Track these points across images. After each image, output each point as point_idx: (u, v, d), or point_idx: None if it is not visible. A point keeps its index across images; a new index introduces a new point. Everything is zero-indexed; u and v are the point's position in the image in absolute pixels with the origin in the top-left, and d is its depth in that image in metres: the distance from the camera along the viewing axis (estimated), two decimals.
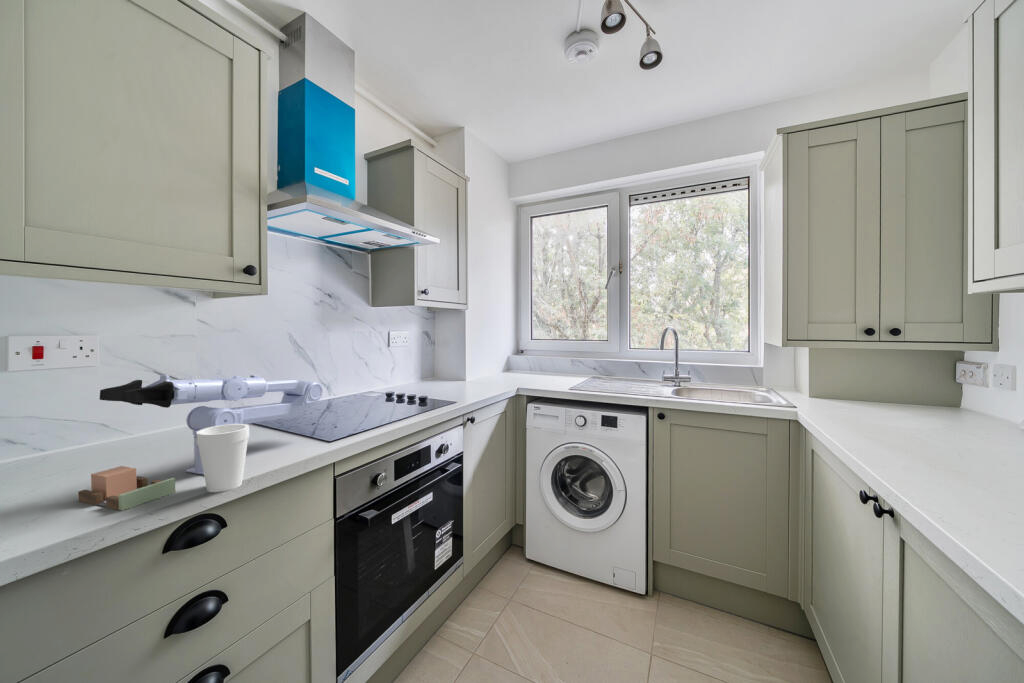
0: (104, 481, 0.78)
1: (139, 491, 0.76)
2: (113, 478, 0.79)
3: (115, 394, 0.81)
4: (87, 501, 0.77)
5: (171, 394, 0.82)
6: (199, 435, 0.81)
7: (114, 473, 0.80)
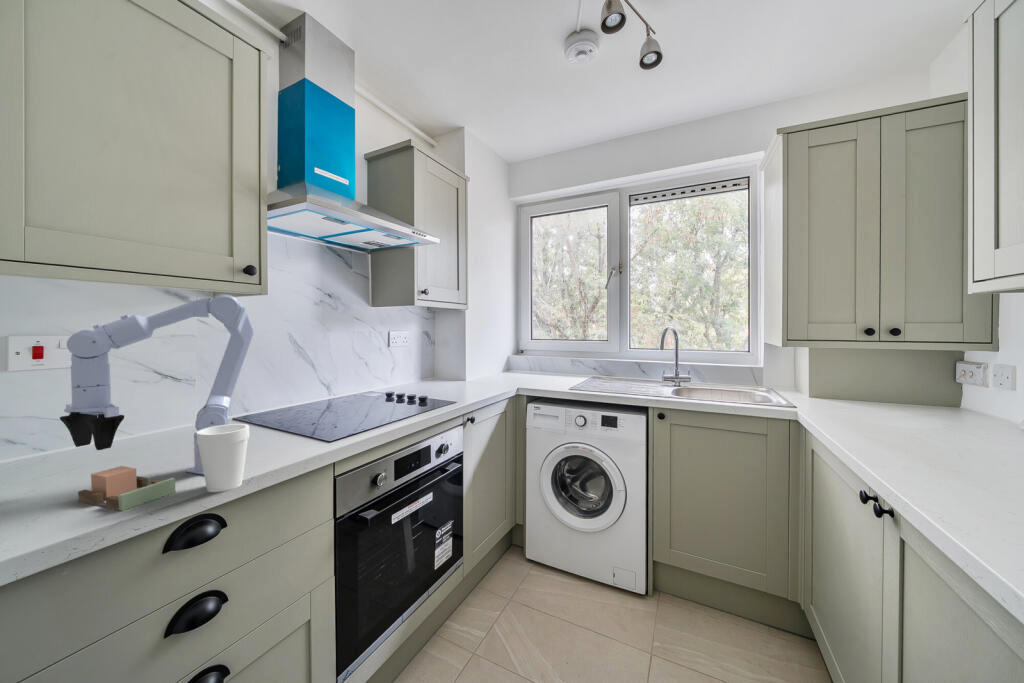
0: (104, 481, 0.78)
1: (139, 491, 0.76)
2: (112, 478, 0.79)
3: (83, 435, 0.84)
4: (87, 501, 0.77)
5: (109, 418, 0.81)
6: (199, 435, 0.81)
7: (114, 473, 0.80)
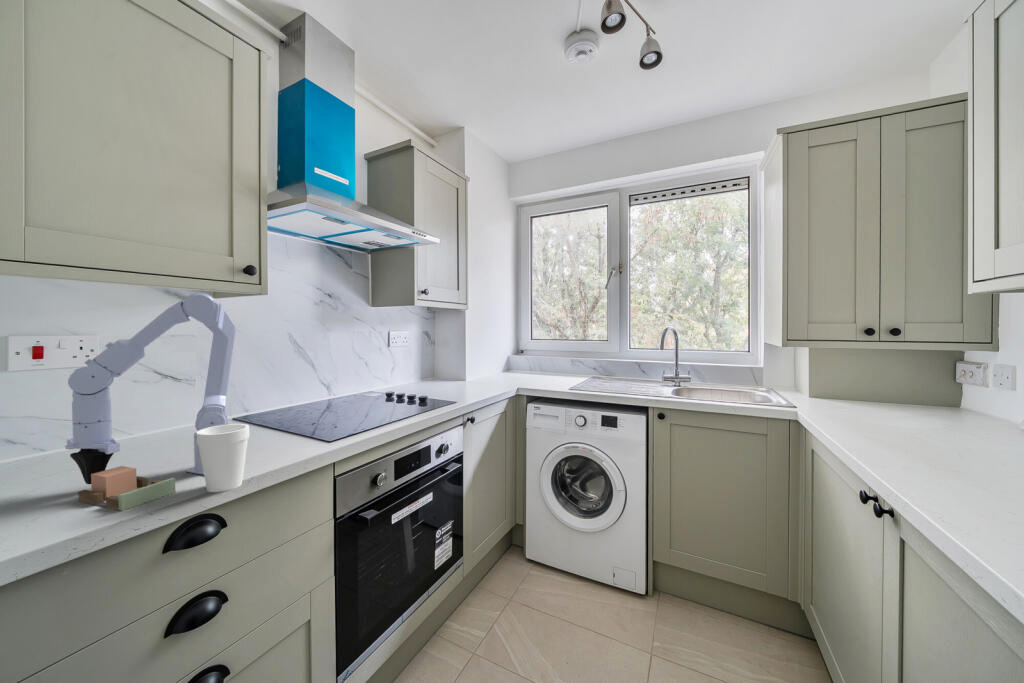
0: (104, 481, 0.78)
1: (139, 491, 0.76)
2: (112, 478, 0.79)
3: None
4: (87, 501, 0.77)
5: (100, 452, 0.82)
6: (199, 435, 0.81)
7: (114, 473, 0.80)
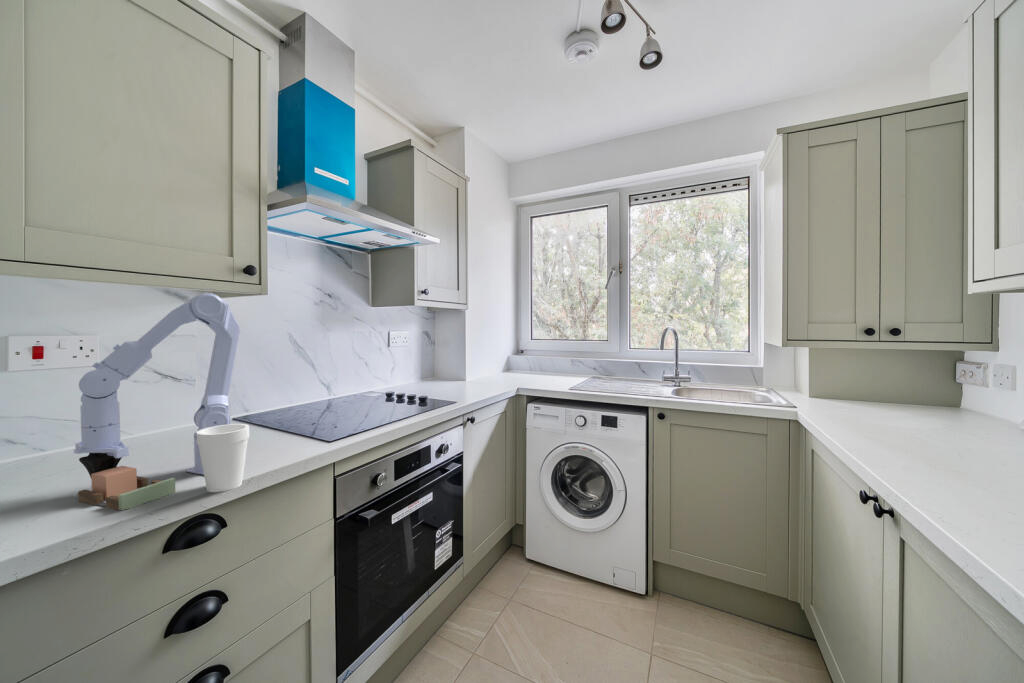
0: (104, 480, 0.78)
1: (139, 491, 0.76)
2: (113, 478, 0.79)
3: None
4: (87, 501, 0.77)
5: (109, 456, 0.82)
6: (199, 435, 0.81)
7: (114, 473, 0.80)
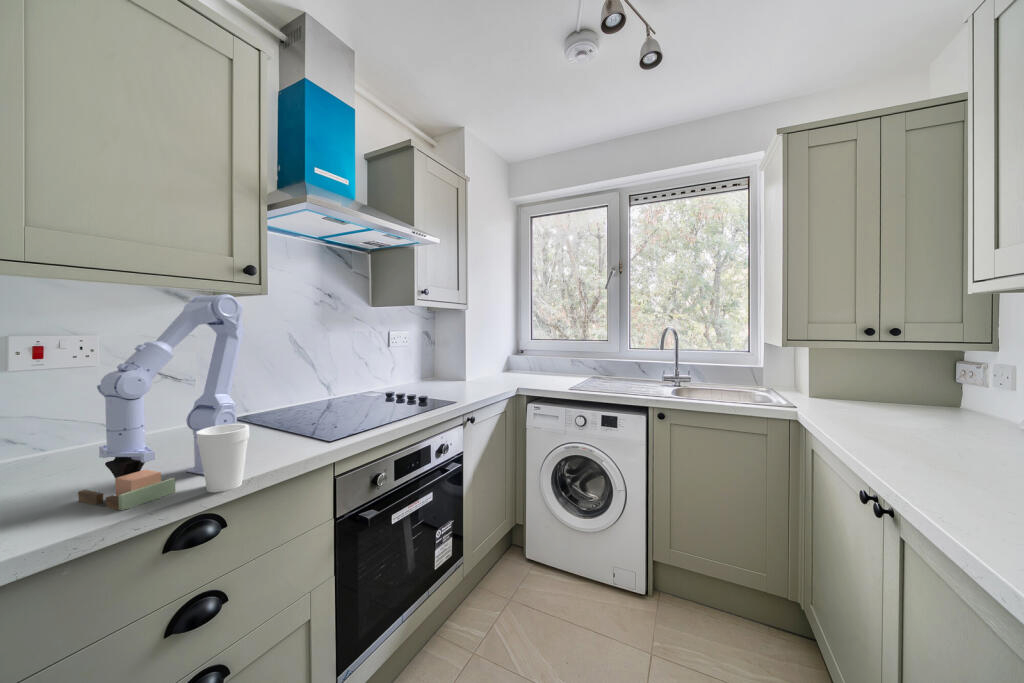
0: (129, 485, 0.76)
1: (139, 491, 0.76)
2: (138, 483, 0.77)
3: None
4: (87, 501, 0.77)
5: (133, 460, 0.79)
6: (199, 435, 0.81)
7: (139, 477, 0.78)
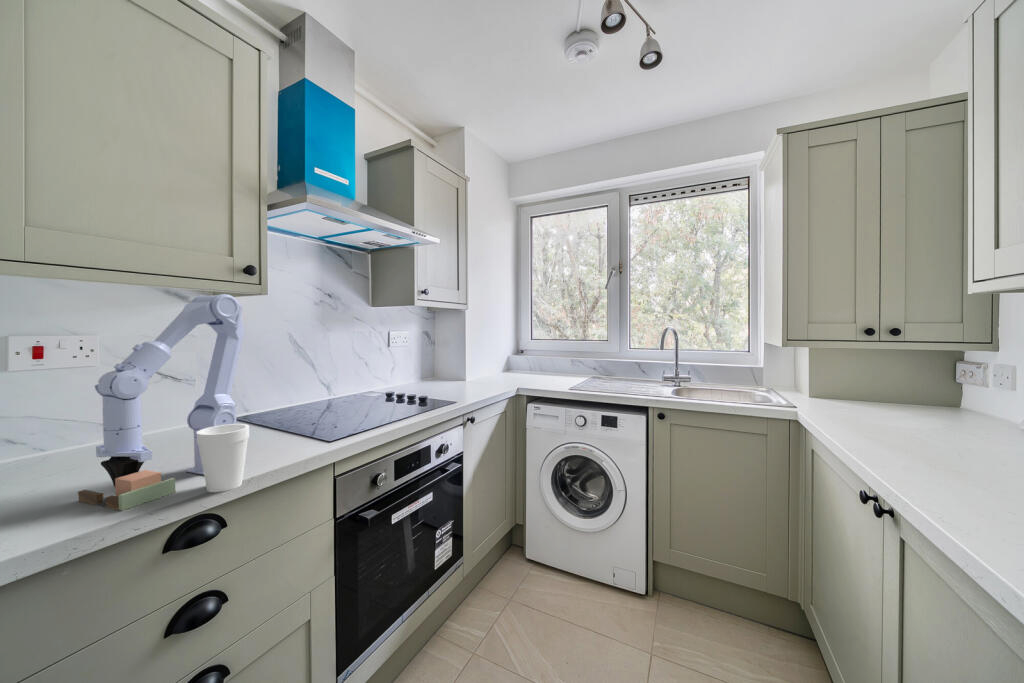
0: (129, 485, 0.76)
1: (139, 491, 0.76)
2: (138, 483, 0.77)
3: None
4: (87, 501, 0.77)
5: (132, 460, 0.79)
6: (199, 435, 0.81)
7: (139, 477, 0.78)
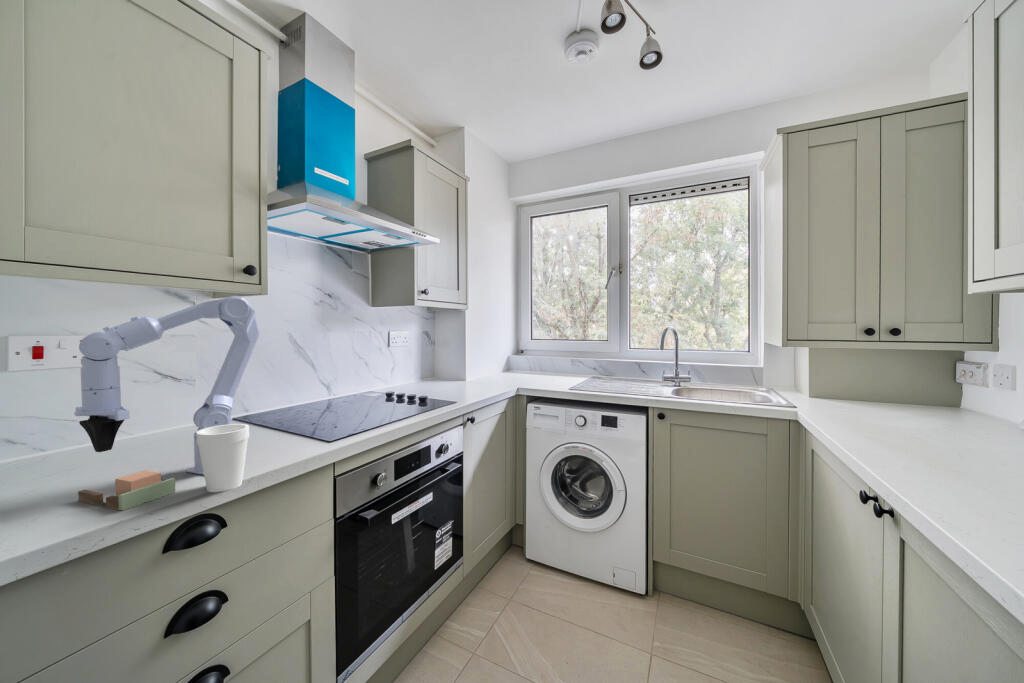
0: (129, 485, 0.76)
1: (139, 491, 0.76)
2: (138, 483, 0.77)
3: None
4: (87, 501, 0.77)
5: (110, 420, 0.81)
6: (199, 435, 0.81)
7: (139, 478, 0.78)
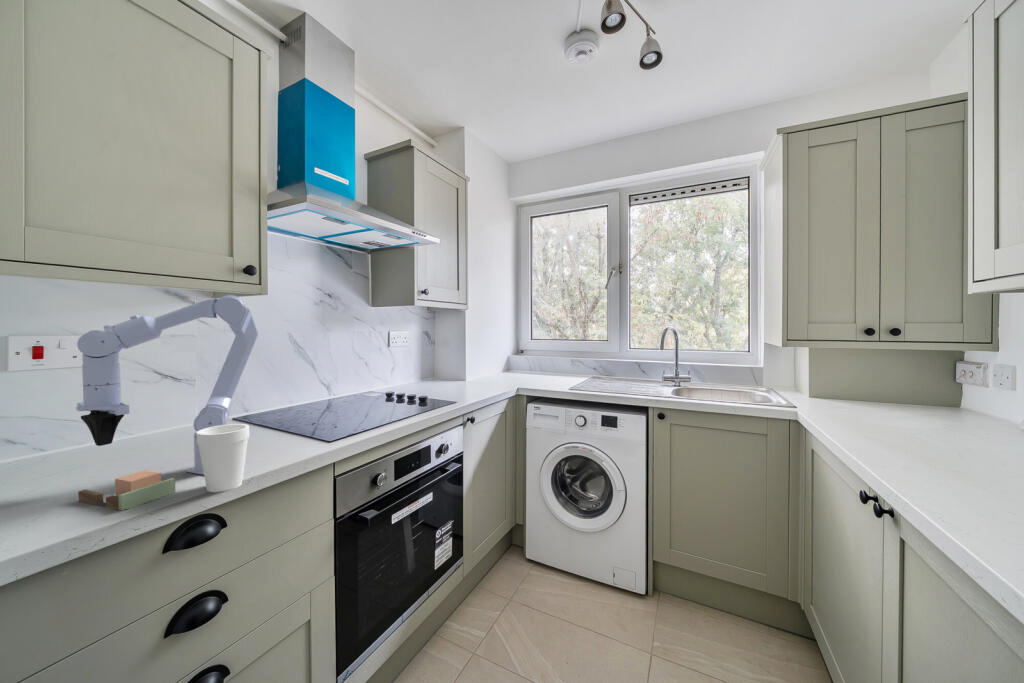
0: (129, 485, 0.76)
1: (139, 491, 0.76)
2: (138, 483, 0.77)
3: None
4: (87, 501, 0.77)
5: (110, 415, 0.84)
6: (199, 435, 0.81)
7: (139, 478, 0.78)
